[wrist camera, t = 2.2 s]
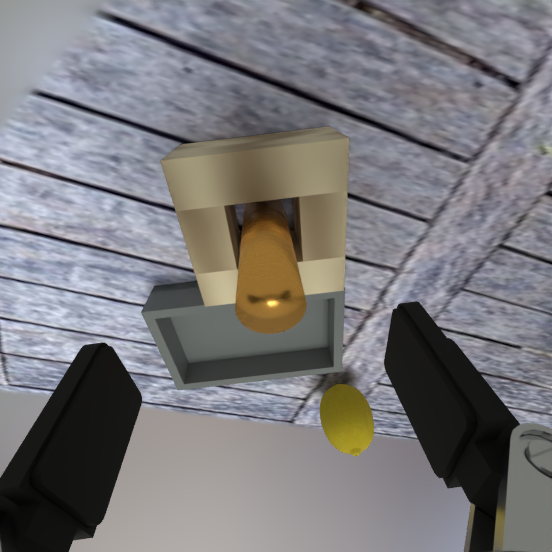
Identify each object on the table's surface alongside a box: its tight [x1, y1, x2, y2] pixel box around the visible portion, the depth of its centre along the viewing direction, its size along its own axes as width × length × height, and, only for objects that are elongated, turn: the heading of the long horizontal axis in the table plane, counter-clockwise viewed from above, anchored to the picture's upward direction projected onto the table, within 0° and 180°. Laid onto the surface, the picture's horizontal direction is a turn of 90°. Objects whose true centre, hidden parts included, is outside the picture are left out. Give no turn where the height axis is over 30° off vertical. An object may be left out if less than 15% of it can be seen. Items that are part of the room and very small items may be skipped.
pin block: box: [160, 127, 349, 307], centre depth 20 cm, size 10×10×5 cm
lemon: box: [320, 383, 374, 456], centre depth 32 cm, size 6×6×8 cm
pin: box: [235, 199, 306, 334], centre depth 17 cm, size 3×3×12 cm
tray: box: [141, 281, 345, 390], centre depth 27 cm, size 16×10×4 cm, turn 95°
